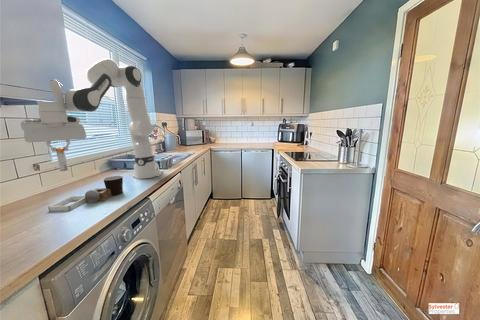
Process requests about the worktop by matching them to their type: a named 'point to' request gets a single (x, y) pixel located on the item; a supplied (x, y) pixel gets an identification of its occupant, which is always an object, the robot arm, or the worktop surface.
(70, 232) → the worktop surface
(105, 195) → the tensioner block
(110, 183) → the coffee mug
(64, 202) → the parts tray
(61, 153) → the lock pin
